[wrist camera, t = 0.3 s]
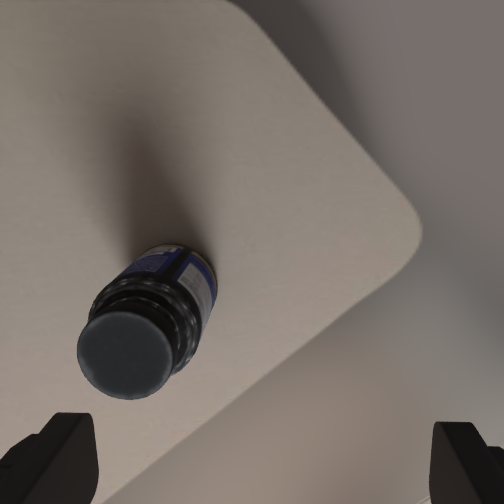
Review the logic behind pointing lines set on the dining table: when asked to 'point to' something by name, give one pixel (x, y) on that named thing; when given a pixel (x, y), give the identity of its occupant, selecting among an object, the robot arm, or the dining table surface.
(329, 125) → the dining table surface
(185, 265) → the pill bottle
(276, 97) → the dining table surface
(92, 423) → the robot arm
